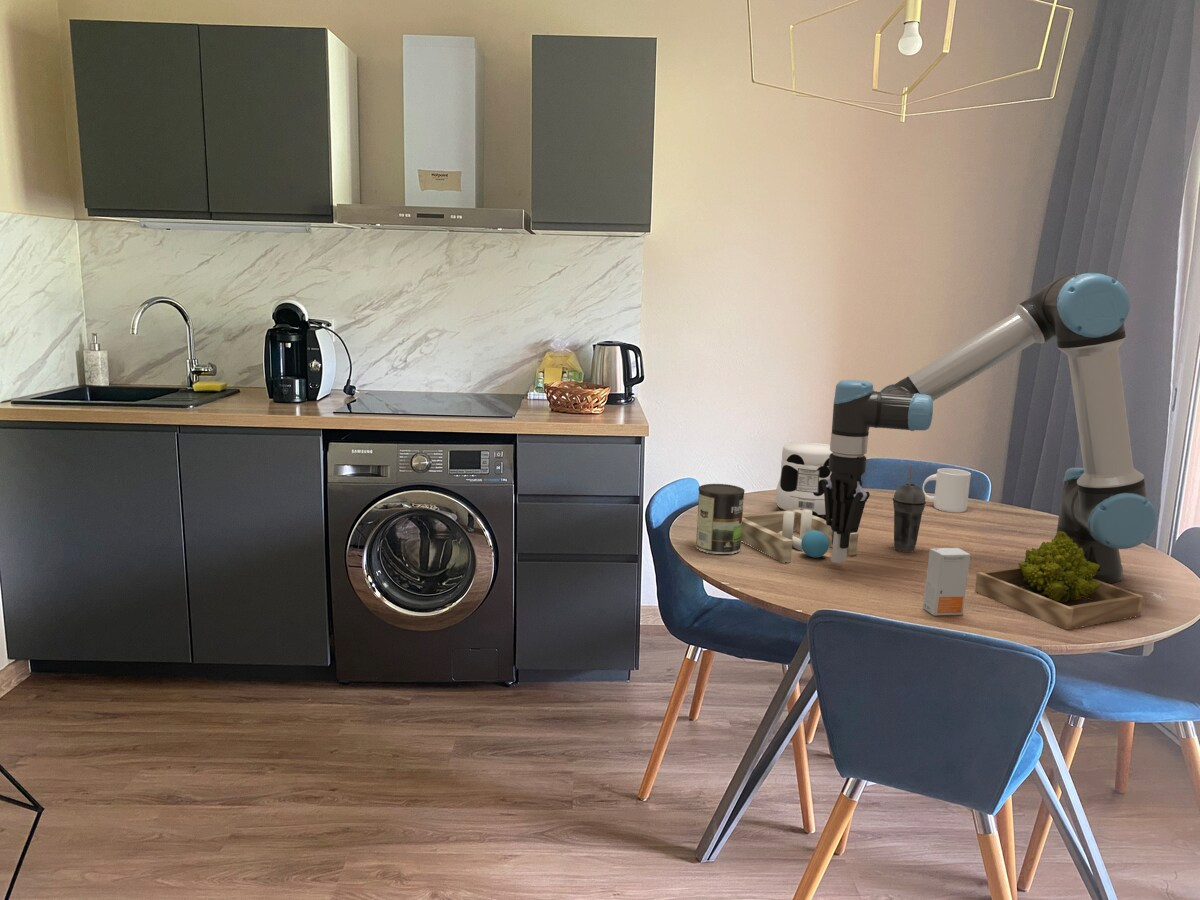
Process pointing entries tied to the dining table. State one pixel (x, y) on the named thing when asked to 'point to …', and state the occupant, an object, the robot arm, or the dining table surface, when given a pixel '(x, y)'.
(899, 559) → the dining table surface
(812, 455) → the milk container
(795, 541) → the pin front
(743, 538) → the bumper
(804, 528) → the pin back right
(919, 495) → the beverage cup
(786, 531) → the pin back left
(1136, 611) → the crate
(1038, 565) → the vegetable
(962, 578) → the skincare box
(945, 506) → the mug
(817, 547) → the ball
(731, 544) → the coffee can
